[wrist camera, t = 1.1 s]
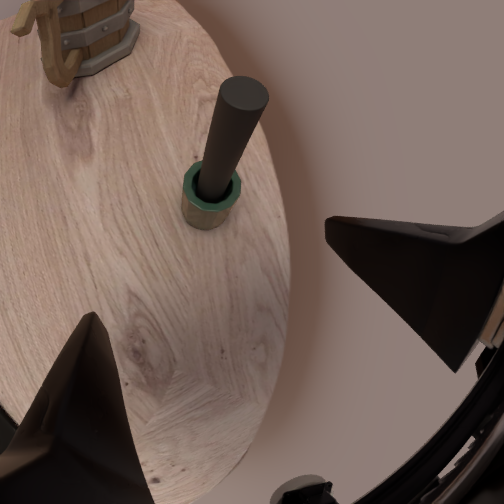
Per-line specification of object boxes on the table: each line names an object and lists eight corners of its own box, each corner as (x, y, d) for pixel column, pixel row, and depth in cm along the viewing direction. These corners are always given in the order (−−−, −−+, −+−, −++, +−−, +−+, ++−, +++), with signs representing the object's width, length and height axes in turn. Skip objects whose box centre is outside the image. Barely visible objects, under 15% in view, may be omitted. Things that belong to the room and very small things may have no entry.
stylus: (216, 218, 23) (269, 114, 10) (192, 216, 22) (217, 105, 9) (218, 196, 23) (269, 81, 10) (195, 193, 23) (222, 71, 9)
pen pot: (226, 232, 23) (239, 214, 19) (179, 227, 22) (180, 208, 18) (229, 188, 24) (242, 162, 19) (184, 183, 23) (187, 155, 18)
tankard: (67, 29, 22) (56, -46, 8) (146, 20, 25) (153, -65, 11) (11, 134, 19) (-46, 47, 4) (106, 122, 22) (79, -4, 8)
